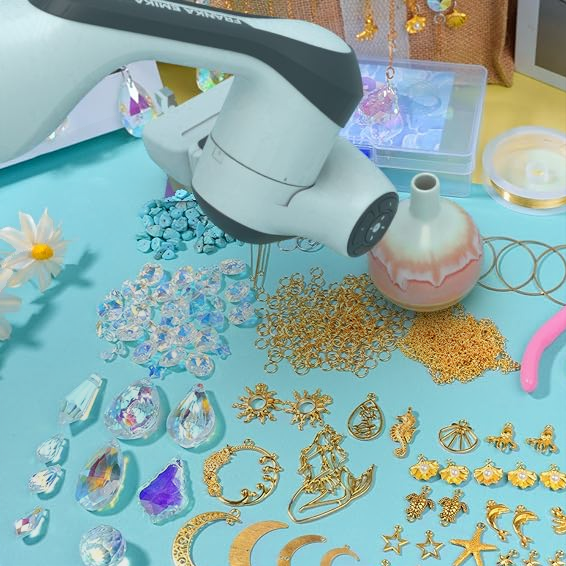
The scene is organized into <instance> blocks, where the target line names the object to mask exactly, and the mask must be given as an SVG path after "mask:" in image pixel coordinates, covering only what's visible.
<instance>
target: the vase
mask: <svg viewBox="0 0 566 566" xmlns="http://www.w3.org/2000/svg"><path fill="white" fill-rule="evenodd" d="M409 189H410V191H409V192H410V197H406V198H404V199H400V200H399V204H398V208H397V209H398V210H397V212H396V215H395V217H394V219H393V221H392V223H391V225H390V226H389V228H388V230H387V231H386V233H385V235H384V236H383V238H382V239H381V240H380V241H379V242H378V243H377V244H376V245H375V246H374V247H373V248H372V249H371V250H370V251H368V252H366V253H365V254H366V256H365V262H366V267H367V272H368V275H369V277H370V279H371V282H372V284H373V285H374V287H375V288H376V290H377V291H378V292H379V293H380V294H381V295H382V296H383V297H384V298H385V299H386V300H388V302H390V303H392V304H394V305H396V306H397V307H399V308H402V309H404V310H408V311H412V312H419V313H431V312H437V311H441V310H445V309H447V308H451V307H452V306H455V305H456V304H457V303H460V302H461V301H463V300H464V298H466V297H468V295H470V293H471V292H472V291H473V290H474V289H475V287H476V285H477V284H478V282H479V280H480V278H481V276H482V272H483V269H484V264H485V246H484V240H483V236H482V233H481V231H480V229H479V227H478V225H477V222H476V221H475V220H474V218H473V216H471V215H470V213H469V212H468V211H467V210H466V209H465V208H463V207H462V206H461V205H459V204H457V202H455V201H453V200H450V199H449V198H446V197H442V196H441V182H440V179H439V177H438V176H437V175H436V174H434V173H432V172H427V171H426V172H425V171H424V172H419V173H417V174H415V175H414V176H413V177H412V178H411V180H410V187H409Z"/></svg>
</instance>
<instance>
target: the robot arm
mask: <svg viewBox="0 0 566 566" xmlns="http://www.w3.org/2000/svg"><path fill="white" fill-rule="evenodd" d="M144 61H145V62H146V61H147V62H149V61H150V62H152V61H153V62H160V63H165V64H171V65H176V66H182V67H189V68H195V69H200V70H205V71H206V70H207V71H211V72H218V73H222V74H223V73H224V74H228V75H232V76H230V77H228V78H226V79H224V80H222V81H221V82H219V83H217V84H215V85H214V86H212V87H210V88H208V89H206V90H204V91H202V92H201V93H199V94H197V95H195V96H193V97H191V98H190V99H188V100H186V101H185V102H182V103H181V104H179V105H178V102H177V100H176V95H175V92H174V91H173V90H172V89H170V88H169V87H168V86H167V85H166V86H165V87H163V88H160V89H158V90H156V91H154V94H153V95H154V98H155V100H156V102H157V104H158V106H159V107H160V112H161V115H159V116H157V117H155V118H153V119H152V120H150V121H148V122H146V123H145V124H143V125H142V129H141V133H140V134H141V140H142V143H143V146H144V148H145V151H146V153H147V155H148V157H149V158H150V160H151V161H152V162H153V163H154V164H155V165H156V166H157V167H158V168H160V170H162V171H163V172H164V173H165V174H166V173H167V174H168V175H169V176H171V177H172V178H173V179H175V180H176V181H178V182H179V183H181V184H183V185H186V186H190V187H191V188H192V192H193V195H194V197H195V199H196V201H195V202H196V203H197V205H198V206H199V208H200V210H201V211H202V213H203V214H204V216H206V218H207V219H208V220H209V221H210V222H211V223H212V224H213V225H214V226H215V227H216V228H217V229H219V230H220V231H221V232H223V233H225V234H226V235H227V236H228V237H230V238H233V239H234V240H236V241H238V242H241V243H244V244H249V245H255V246H256V245H258V246H262V245H269V244H274V243H279V242H283V241H289V240H292V239H296V238H299V237H300V238H304V239H307V240H310V241H313V242H316V243H319V244H320V245H323V246H325V247H326V248H328V249H330V250H331V251H333V252H334V253H336V254H338V255H340V256H342V257H345V258H348V259H356V258H360V257H361V256H363V255H365V254H366V252H368V251H370V250H371V249H372V248H373V247H374V246H375V245H376V244H377V243H378V242H379V241H380V240H381V239H382V238H383V236H384V235H385V233H386V231H387V230H388V228H389V226H390V225H391V223H392V221H393V219H394V217H395V215H396V212H397V210H398V209H397V208H398V204H399V201H400V195H399V192H398V191H397V188H396V187H395V185H394V184H393V183H392V181H391V180H390V179H389V178H388V176H386V174H385V173H384V172H383V170H381V169H380V167H378V165H376V163H375V162H373V160H371V159H370V158H369V156H368V155H366V154H365V153H364V152H363V151H361V150H360V149H359V148H358V147H357V146H356V145H355V144H353V143H352V142H351V141H350V140H348V139H347V138H345V137H343V136H341V135H340V133H341V131H342V129H345V128H346V125H348V123H349V121H350V120H351V118H352V116H353V114H354V112H355V111H356V110H357V108H358V106H359V104H360V103H361V102H362V99H363V98H364V96H365V93H364V84H363V79H362V72H361V69H360V68H361V67H360V64H359V60H358V57H357V55H356V52H355V50H354V48H353V47H352V46H351V45H350V44H349V43H347V42H346V41H344V40H343V39H342V38H341V37H340V36H338V35H337V34H336V33H334V32H333V31H331V30H329V29H327V28H325V27H323V26H321V25H319V24H316V23H313V22H310V21H306V20H301V19H294V18H292V19H291V18H285V17H280V16H279V17H278V16H272V15H271V16H270V15H263V14H253V13H245V12H240V11H236V10H231V9H226V8H221V7H217V6H212V5H208V4H203V3H198V2H193V1H189V0H0V165H1V164H5V163H9V162H11V161H14V160H16V159H18V158H20V157H22V156H24V155H25V154H28V153H29V152H31V151H33V150H34V149H35V148H37V147H38V146H39V145H40V144H42V143H44V141H45V140H47V139H48V138H49V137H51V135H52V134H53V133H54V132H55V131H56V130H58V128H59V127H60V126H61V125H62V123H63V122H64V121H65V120H66V119H67V117H68V116H69V115H70V114H71V112H72V111H73V110H74V109H75V108H76V107H77V106H78V104H79V103H80V102H81V101H82V100H83V99H84V98H85V97H86V96H87V95H88V94H89V93H90V92H91V91H92V90H93V89H94V88H96V86H97V85H99V84H100V83H101V82H102V81H103V80H104V79H106V78H107V77H108V76H110V75H112V73H114V72H116V71H117V70H119V69H121V68H123V67H125V66H128V65H130V64H134V63H137V62H144ZM167 174H166V175H167Z"/></svg>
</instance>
